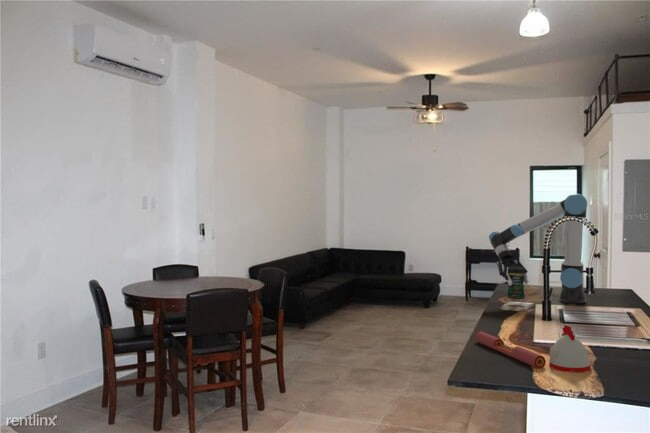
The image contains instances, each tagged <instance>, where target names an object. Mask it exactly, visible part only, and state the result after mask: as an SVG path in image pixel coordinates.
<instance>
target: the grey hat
mask: <svg viewBox="0 0 650 433" xmlns="http://www.w3.org/2000/svg"><path fill="white" fill-rule="evenodd" d="M561 330H562V333H563V335H562V336H561V337H559V338H558V339H557V340H556V341H555V342H554V344H553V346H551V347H550V348H549V362H548V365H549V367H550V368H551V369H553V370H557V371H560V372H561V371H562V372H565V373H568V372H569V373H583V372H588V371H590V369H591V363H590V362H591V361H590V354H589V353H590V352H589V349H586V347H585V345H584V344H583V343H582V341H581V340H580V339H578V337H576V334H574V330H572V326H569V325H563V327H562V329H561Z"/></svg>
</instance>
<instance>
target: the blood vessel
mask: <svg viewBox="0 0 650 433" xmlns="http://www.w3.org/2000/svg"><path fill="white" fill-rule="evenodd" d="M475 341H476V342H477V343H479V344H480V345H483V346H485V347H487V348H490V349H493V350H494V351H497V352H499V353H501V354H504V355H506V356H508V357H510V358H512V359H516V360H517V361H520V362H522V363H524V364H527V366H528V365H529V366H530V367H533V368H535V369H543V368H544V367H545V366H546V365H547V364H546V362H547V359H546V358H545V357H544V356H543V355H541V354H539V353H537V352H534V351H531V350H529V349H526V348H524V347H521V346H519V345H517V346H514V347H511V346H509V345H506V344H505V343H504V341H503V340H502V339H501V338H499V337H497V336H494V335H491V334H488V333H486V332H484V331H478V332H477V333H476V335H475Z"/></svg>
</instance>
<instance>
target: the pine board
mask: <svg viewBox="0 0 650 433" xmlns="http://www.w3.org/2000/svg"><path fill="white" fill-rule="evenodd" d="M534 304H535V303H534V302H524V301H523V302H519V301H508V302H506V303H504V304H503V305H502V306H501V307H500V311H513V312H514V311H516V312H527V311H530V310H531V309H532V306H533V307H534V306H535V305H534Z"/></svg>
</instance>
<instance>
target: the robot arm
mask: <svg viewBox="0 0 650 433" xmlns="http://www.w3.org/2000/svg"><path fill="white" fill-rule="evenodd" d="M587 207H588V201H587V199H586V197H585V196H584V195H582V194H581V193H572V194H571V193H570V194H569V195H568V196H567V197H566V198H565V199H564V200H561V201H560V202H558V204H557V205H555V206H553V207H550V208H548V209H546V210H544V211H542V212H539V213H537V214H536V215H533V216H531V217H529V218H527V219H524V220H522V221H521V222H519V223H515V224H511V226H509V227H508V228H506V229H504V230H503V231H501V232H500V231H493V232H491V233H490V234H489V236H488V239H489V241H490V244H491V246H492V248H493V250H494V252H495V253H496V256H497V258H498V259H499V260H497V261H496V265H497V267H498V273H499V274H498V275H499V276H500V277H502V278H504V279H505V281H507V284H509V286H511V285H512V281H511V279H510V277H509V275H508V274H507V272H508V267H510V266H518V267H524V271H525V276H524V285H528V284H529V282H530V281H529V279H528V276H527V273H528V270H527V268H526V267H525V266H524V265H523V264H522V263H521V261H520V259H519V258H517V259H514V258H513V254H512V253H511V251H510V249H509V247H508V243H510V242H511V241H514V240H515V239H517V238H519V237H522V236H523V235H525V234H528V233H529V232H532V231H535V230H536V229H538V228H541V227H543V226H546V225H548V224H549V223H552V222H554V221H556V220H558V219H561V218H563V217H564V218H565V217H566V216H575V217H578V218H582V219H584V220H585V219H587V210H588V209H587ZM583 227H584V222H583V223H581V222H578V221H567V220H566V227H565V242H564V243H565V246H564V261H562V262H561V266H560V268H561V269H560V275H559V276H560V278H559V280H560V281H561V290H560V294H559V296H558V301H559V302H560V303H564V304H565V303H566V304H584V303H585V304H586V303H587V296H586V294H585V291H584V284H583V283H584V264H583V263H582V262H581V261H582V246H583V243H582V242H583V230H584V228H583Z"/></svg>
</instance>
